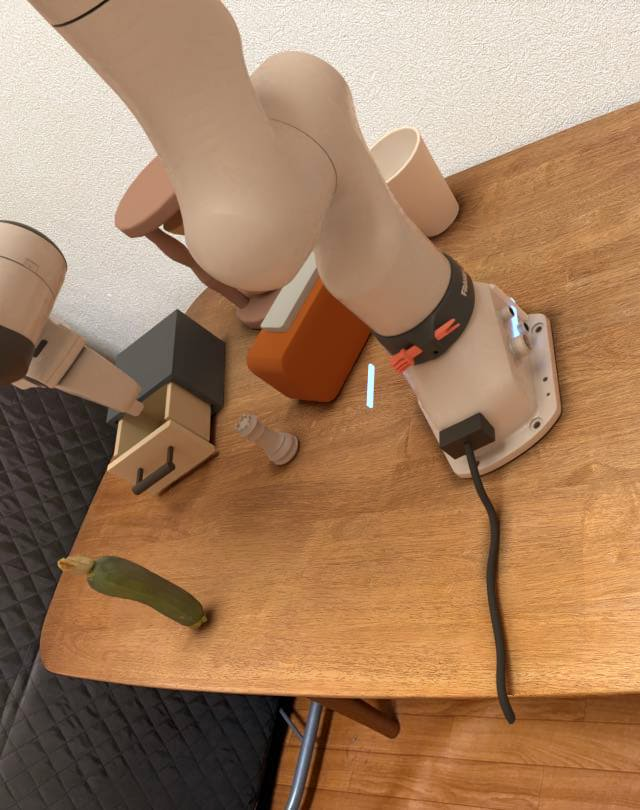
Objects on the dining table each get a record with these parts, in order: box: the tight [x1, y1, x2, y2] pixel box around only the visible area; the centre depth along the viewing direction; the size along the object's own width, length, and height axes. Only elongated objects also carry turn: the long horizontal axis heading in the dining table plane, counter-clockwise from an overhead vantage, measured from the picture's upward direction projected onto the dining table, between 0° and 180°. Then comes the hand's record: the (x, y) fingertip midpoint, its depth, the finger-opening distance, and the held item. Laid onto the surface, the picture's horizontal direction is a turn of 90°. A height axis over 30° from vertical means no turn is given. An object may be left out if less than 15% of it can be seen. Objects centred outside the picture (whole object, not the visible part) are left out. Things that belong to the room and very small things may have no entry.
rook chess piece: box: [234, 413, 299, 466], centre depth 110 cm, size 4×4×8 cm
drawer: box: [106, 379, 216, 496], centre depth 123 cm, size 19×12×8 cm, turn 17°
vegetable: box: [57, 555, 208, 630], centre depth 96 cm, size 4×4×20 cm
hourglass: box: [114, 154, 283, 330], centre depth 129 cm, size 18×18×25 cm
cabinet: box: [105, 308, 226, 430], centre depth 132 cm, size 16×14×10 cm
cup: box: [368, 125, 460, 238], centre depth 118 cm, size 12×12×12 cm
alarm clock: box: [246, 251, 372, 403], centre depth 115 cm, size 24×8×11 cm, turn 155°
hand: (136, 409), depth 105 cm, fingers closed
